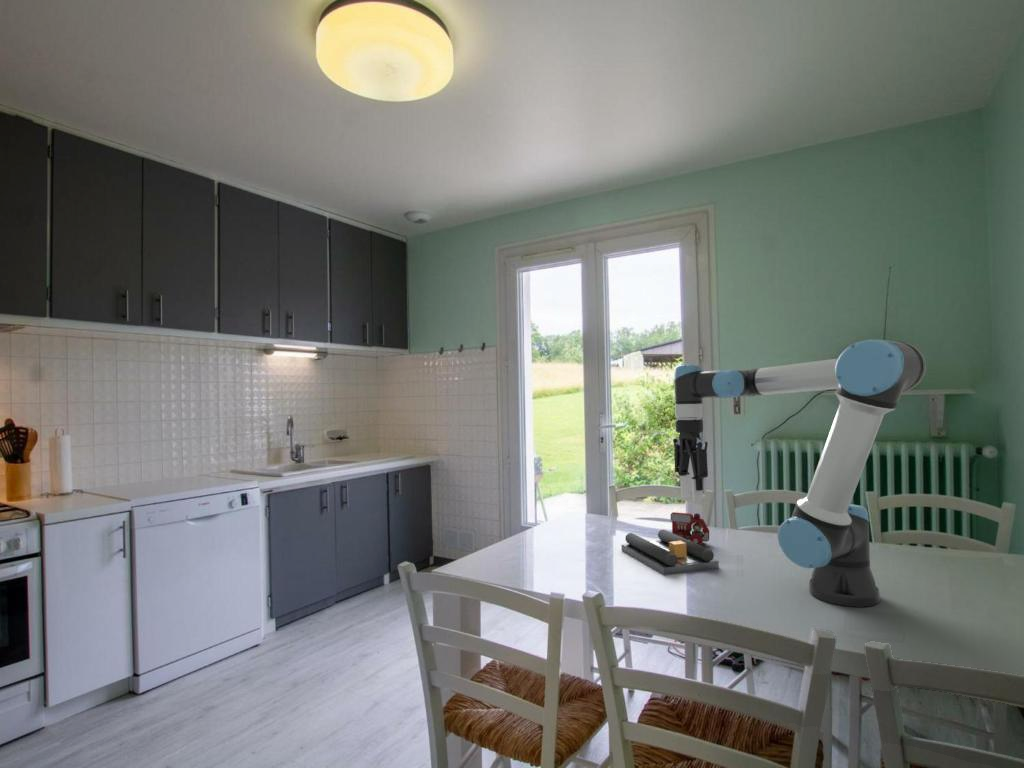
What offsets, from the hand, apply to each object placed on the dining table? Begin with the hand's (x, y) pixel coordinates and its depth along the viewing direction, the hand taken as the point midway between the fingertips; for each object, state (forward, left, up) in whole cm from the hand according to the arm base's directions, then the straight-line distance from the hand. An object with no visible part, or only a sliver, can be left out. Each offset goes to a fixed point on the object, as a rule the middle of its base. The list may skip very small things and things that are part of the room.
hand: (691, 499), depth 160 cm
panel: (+14, 0, -21) cm, 25 cm away
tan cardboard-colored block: (+8, 0, -18) cm, 20 cm away
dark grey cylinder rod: (+14, +6, -19) cm, 24 cm away
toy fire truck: (+26, -16, -21) cm, 37 cm away
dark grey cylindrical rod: (+14, -6, -19) cm, 24 cm away
